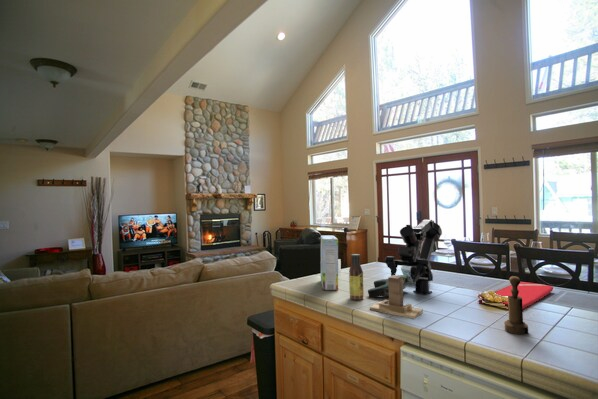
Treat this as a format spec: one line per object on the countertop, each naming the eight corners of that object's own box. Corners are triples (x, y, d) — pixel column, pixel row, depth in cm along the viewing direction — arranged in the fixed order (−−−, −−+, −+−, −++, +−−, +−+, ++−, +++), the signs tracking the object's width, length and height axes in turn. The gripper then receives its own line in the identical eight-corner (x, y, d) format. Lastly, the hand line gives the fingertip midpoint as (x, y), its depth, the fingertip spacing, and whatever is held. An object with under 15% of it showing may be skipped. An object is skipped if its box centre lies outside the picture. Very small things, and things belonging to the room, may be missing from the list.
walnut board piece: (393, 305, 135) (393, 275, 135) (403, 307, 133) (402, 276, 133) (389, 308, 131) (388, 277, 131) (398, 310, 129) (398, 278, 129)
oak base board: (380, 303, 141) (379, 296, 141) (422, 311, 130) (422, 304, 130) (370, 309, 134) (369, 302, 134) (414, 318, 122) (414, 310, 122)
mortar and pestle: (500, 327, 112) (498, 274, 112) (517, 326, 112) (516, 273, 113) (514, 335, 105) (512, 278, 106) (533, 334, 106) (531, 278, 106)
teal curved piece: (374, 278, 169) (414, 271, 161) (377, 290, 168) (418, 284, 161) (366, 287, 151) (410, 281, 143) (369, 302, 150) (414, 296, 142)
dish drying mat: (477, 304, 139) (477, 295, 139) (516, 287, 164) (516, 279, 164) (519, 313, 127) (519, 303, 127) (555, 294, 151) (554, 285, 151)
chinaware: (403, 285, 172) (402, 270, 172) (399, 278, 186) (399, 264, 186) (433, 285, 169) (433, 270, 169) (427, 279, 184) (426, 265, 184)
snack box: (340, 290, 164) (338, 238, 164) (322, 291, 164) (321, 239, 164) (335, 280, 185) (334, 234, 186) (320, 280, 186) (319, 234, 186)
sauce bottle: (363, 300, 146) (362, 255, 146) (349, 300, 147) (348, 255, 147) (363, 296, 152) (362, 253, 153) (349, 296, 153) (348, 253, 154)
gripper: (385, 238, 148) (375, 267, 139) (428, 240, 136) (420, 272, 128) (393, 253, 154) (383, 281, 145) (434, 256, 142) (427, 288, 134)
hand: (402, 280), depth 138 cm, fingers open, 9 cm apart
